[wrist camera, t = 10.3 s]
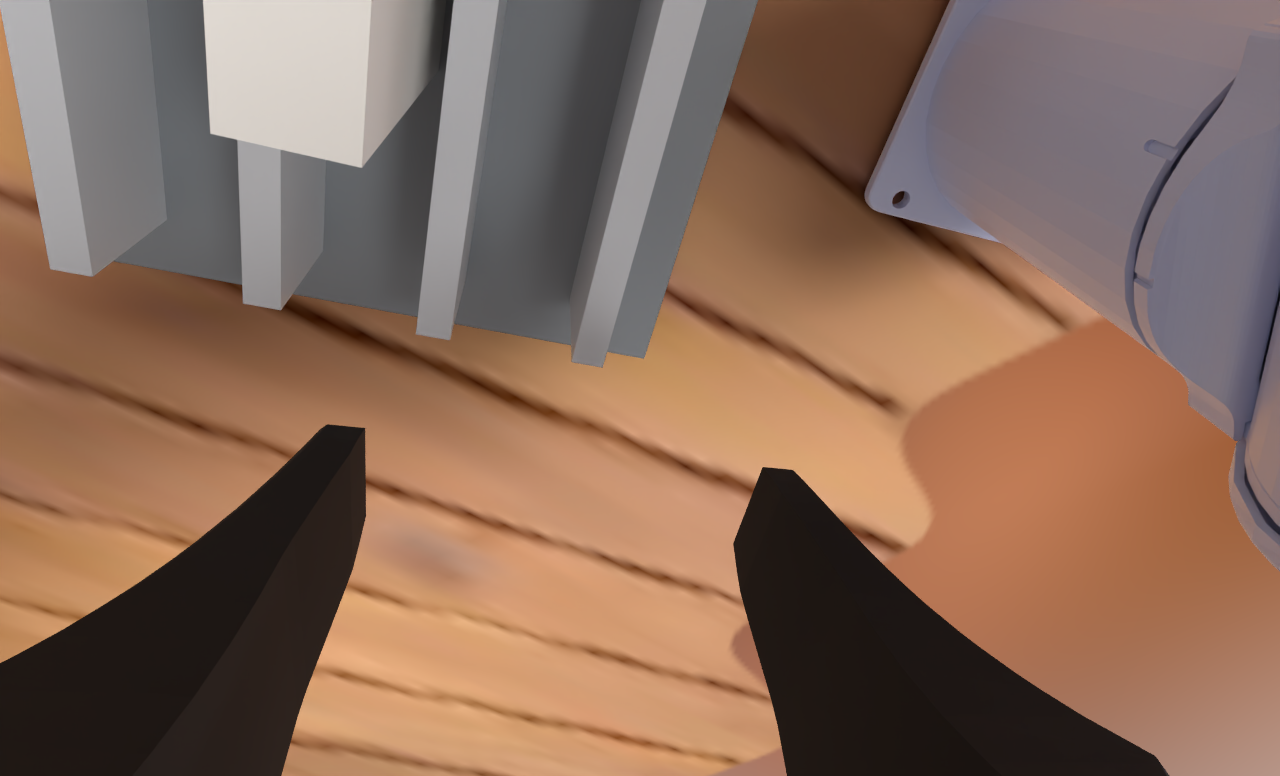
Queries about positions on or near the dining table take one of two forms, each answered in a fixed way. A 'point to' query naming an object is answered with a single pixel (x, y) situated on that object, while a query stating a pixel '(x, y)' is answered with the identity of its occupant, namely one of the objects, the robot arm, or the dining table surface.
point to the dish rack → (395, 164)
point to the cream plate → (318, 71)
